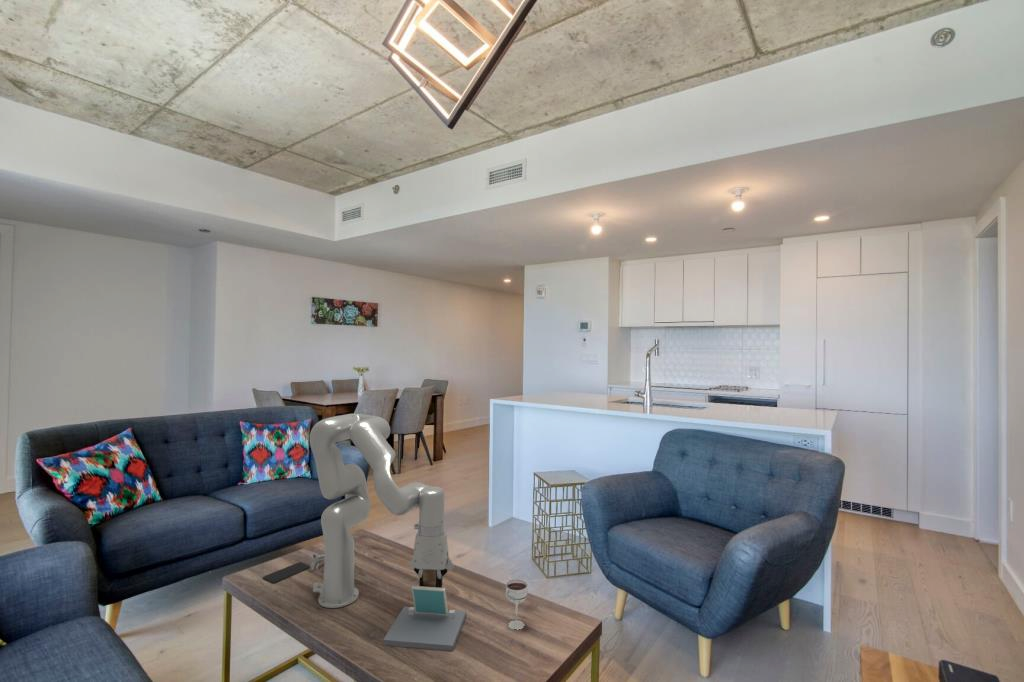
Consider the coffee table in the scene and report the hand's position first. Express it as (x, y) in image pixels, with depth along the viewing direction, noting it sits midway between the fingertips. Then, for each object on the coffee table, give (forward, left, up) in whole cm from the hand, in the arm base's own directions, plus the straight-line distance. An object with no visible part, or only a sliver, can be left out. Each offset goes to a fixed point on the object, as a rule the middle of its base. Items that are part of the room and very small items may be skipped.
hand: (430, 588), depth 144 cm
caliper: (-49, +34, -11) cm, 61 cm away
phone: (-61, +23, -11) cm, 66 cm away
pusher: (0, +1, -2) cm, 2 cm away
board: (0, -4, -10) cm, 11 cm away
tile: (0, 0, -3) cm, 3 cm away
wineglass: (+26, +2, -10) cm, 28 cm away
